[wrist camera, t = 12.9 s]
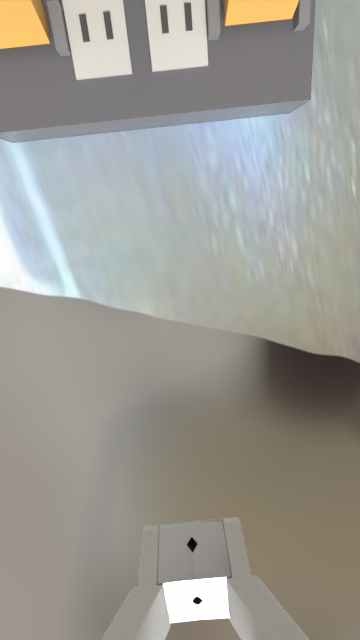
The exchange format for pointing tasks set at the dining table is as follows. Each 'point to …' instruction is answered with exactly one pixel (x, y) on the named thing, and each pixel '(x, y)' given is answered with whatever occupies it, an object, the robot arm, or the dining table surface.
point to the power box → (152, 68)
